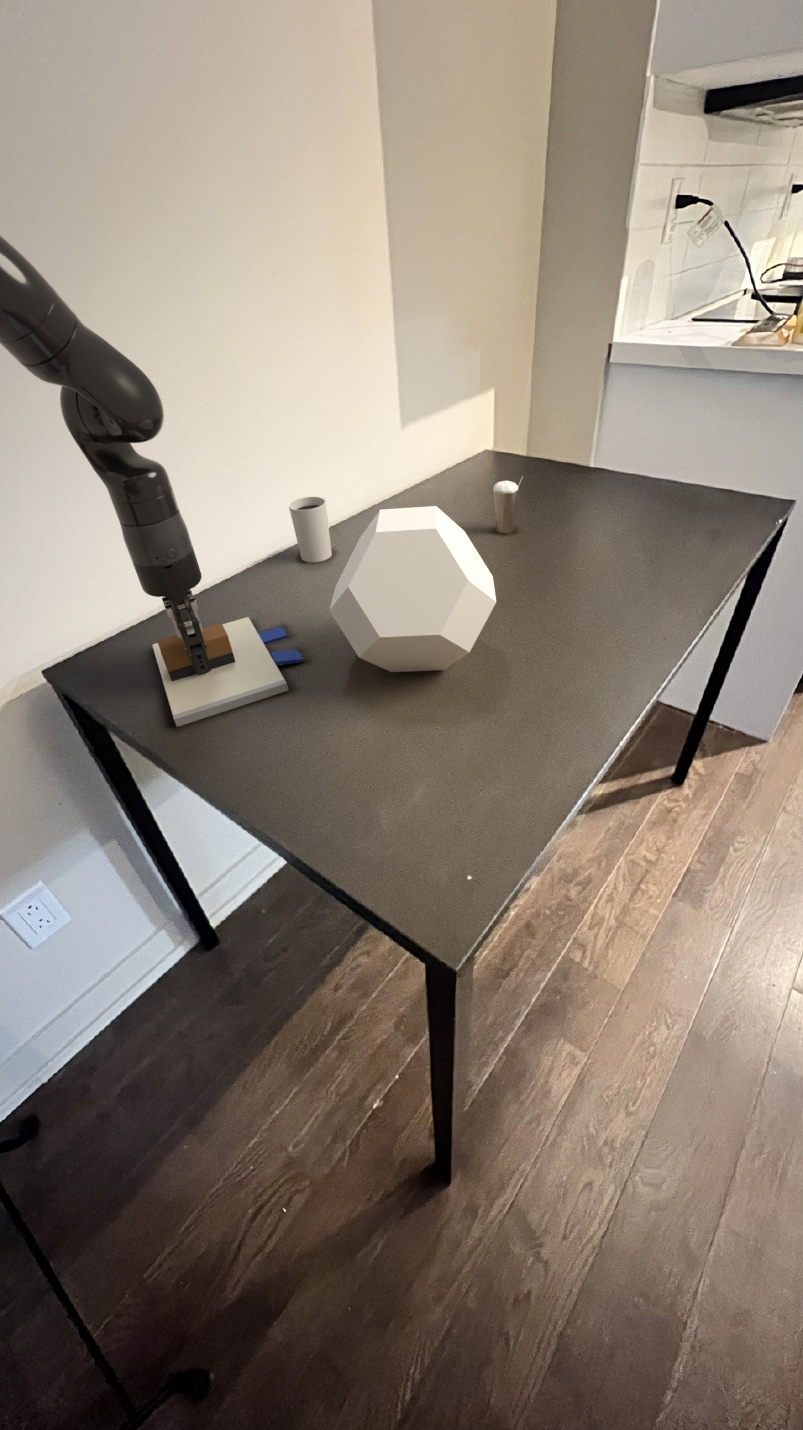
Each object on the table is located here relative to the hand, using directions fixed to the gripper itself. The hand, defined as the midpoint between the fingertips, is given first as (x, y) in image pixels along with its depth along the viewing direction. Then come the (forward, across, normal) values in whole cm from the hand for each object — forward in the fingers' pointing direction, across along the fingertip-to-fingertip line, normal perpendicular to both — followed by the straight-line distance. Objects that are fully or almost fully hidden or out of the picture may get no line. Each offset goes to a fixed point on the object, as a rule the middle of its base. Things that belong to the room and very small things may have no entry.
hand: (200, 663), depth 88 cm
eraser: (0, 0, 0) cm, 0 cm away
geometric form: (+2, +13, +28) cm, 31 cm away
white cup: (+2, -28, +27) cm, 39 cm away
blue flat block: (+2, -4, +12) cm, 12 cm away
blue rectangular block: (+1, +4, +11) cm, 12 cm away
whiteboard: (+1, 0, +2) cm, 2 cm away
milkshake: (+2, -17, +62) cm, 64 cm away
